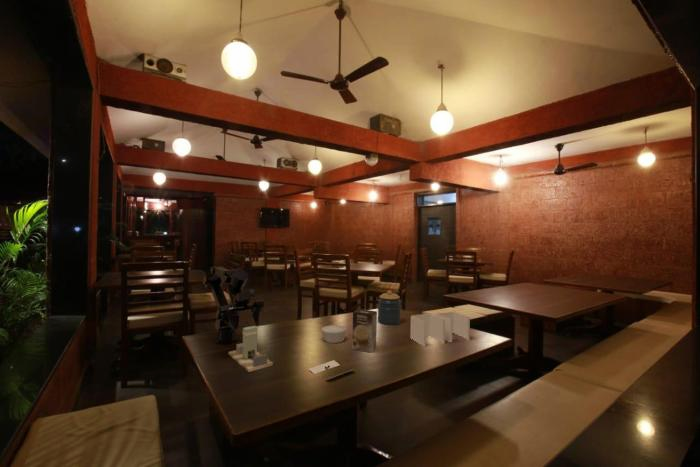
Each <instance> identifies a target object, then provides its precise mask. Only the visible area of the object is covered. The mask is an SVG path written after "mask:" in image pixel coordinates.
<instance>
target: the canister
mask: <svg viewBox="0 0 700 467" xmlns="http://www.w3.org/2000/svg"><path fill="white" fill-rule="evenodd" d="M378 297H379V299H378V300H377V302H378V305H377V322H378V323H379V324H382V325H387V326H392V325H393V326H394V325H395V326H396V325H399V324H401V322H402V316H401V315H402V306H401V303H402V299H400V295H398V293H394V292H392V290H387V292H385V293H382V294H381V295H379V296H378Z"/></svg>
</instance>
